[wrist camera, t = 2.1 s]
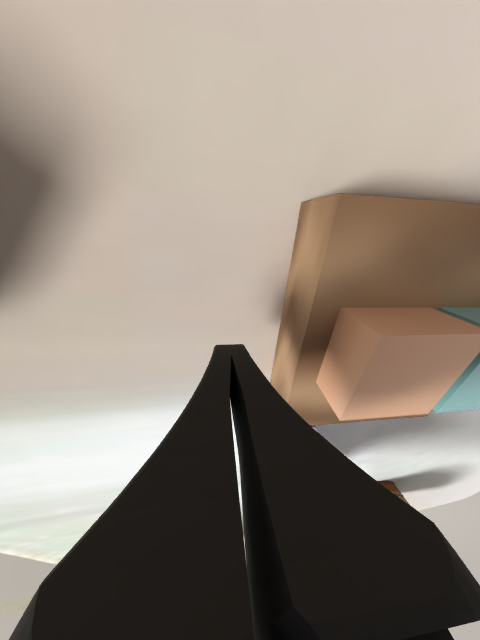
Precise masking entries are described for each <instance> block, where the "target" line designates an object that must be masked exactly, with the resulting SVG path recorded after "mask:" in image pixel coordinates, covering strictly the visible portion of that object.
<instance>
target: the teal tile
mask: <svg viewBox="0 0 480 640" xmlns="http://www.w3.org/2000/svg"><path fill="white" fill-rule="evenodd" d="M438 311H441V312H443V313H446V314H448V315H451V316H453V317H456V318H458V319H461V320H463V321H466V322H468V323H471V324H473V325H476V326H478V327H480V307H439V309H438ZM432 410H433V411H434V412H436V413H445V412H457V411H470V410H480V352H479V354H478V355H477V356H476V357H475V358H474V360H473V361H472V362H471V363H470V364H469V365H468V367H467V368H466V369H465V370H464V371H463V373H462V374H461V375H460V376H459V377H458V379H457V380H456V381H455V382H454V383H453V385H452V386H451V387H450V388H449V389H448V391H447V392H446V393H445V394H444V395H443V397H442V398H441V399H440V400H439V401H438V403H437V404H436V405H435V406H434V407H433V409H432Z"/></svg>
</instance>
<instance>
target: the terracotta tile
mask: <svg viewBox="0 0 480 640" xmlns="http://www.w3.org/2000/svg"><path fill="white" fill-rule="evenodd" d="M479 352H480V327H478V326H476V325H473V324H471V323H468V322H466V321H463V320H461V319H458V318H456V317H453V316H451V315H448V314H446V313H443V312H441V311H438V310H436V309H433V308H431V307H405V308H341V309H340V312H339V315H338V318H337V321H336V324H335V327H334V330H333V333H332V336H331V339H330V342H329V345H328V348H327V350H326V353H325V356H324V359H323V362H322V365H321V368H320V371H319V374H318V377H317V380H316V383H317V384H318V386H319V388H320V389H321V391H322V393H323V394H324V396H325V398H326V399H327V401H328V402H329V404H330V406H331V407H332V409H333V411H334V412H335V414H336V416H337V417H338V419H339V420H340V421H344V420H357V419H370V418H382V417H395V416H407V415H420V414H428V413H429V412H430V411H431V410H432V409H433V407H434V406H435V405H436V404H437V403H438V401H439V400H440V399H441V398H442V397H443V395H444V394H445V393H446V392H447V391H448V389H449V388H450V387H451V386H452V385H453V383H454V382H455V381H456V380H457V379H458V377H459V376H460V375H461V374H462V373H463V371H464V370H465V369H466V368H467V367H468V365H469V364H470V363H471V362H472V361H473V360H474V358H475V357H476V356H477V355H478V354H479Z"/></svg>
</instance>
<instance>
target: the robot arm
mask: <svg viewBox="0 0 480 640" xmlns="http://www.w3.org/2000/svg"><path fill="white" fill-rule="evenodd" d="M230 401H231V407H232V414H233V420H234V427H235V433H236V440H237V446H238V455H239V464H240V479H241V491H242V506H243V520H244V535H245V549H244V540H243V530H242V521H241V512H240V502H239V492H238V482H237V472H236V462H235V452H234V441H233V431H232V419H231V408H230ZM245 550H246V558H245ZM246 565H247V568H246ZM479 620H480V585H479V584H478V582H477V581H476V580H475V578H474V577H473V575H472V574H471V573H470V571H469V570H468V568H467V567H466V566H465V564H464V563H463V561H462V560H461V559H460V557H459V556H458V554H457V553H456V551H455V550H454V549H453V548H452V546H451V545H450V544H449V542H448V541H447V540H446V538H445V537H444V536H443V534H442V533H441V532H440V530H439V529H438V528H437V527H436V525H435V524H434V523H433V522H432V521H431V520H429V519H428V518H426V517H425V516H424V515H422V514H421V513H420V512H418V511H417V510H416V509H414V508H413V507H411V506H410V505H409V504H407V503H406V502H405V501H403V500H402V499H401V498H399V497H398V496H396V495H395V494H394V493H392V492H391V491H390V490H388V489H387V488H385V487H384V486H383V485H381V484H380V483H379V482H377V481H376V480H375V479H373V478H372V477H371V476H369V475H368V474H367V473H366V472H364V471H363V470H362V469H361V468H359V467H358V466H357V465H356V464H354V463H353V462H352V461H351V460H349V459H348V458H347V457H346V456H344V455H343V454H342V453H341V452H340V451H339V450H338V449H336V448H335V447H334V446H333V445H332V444H331V443H329V442H328V441H327V440H326V439H325V438H324V437H323V436H321V435H320V434H319V433H318V431H317V429H316V428H315V427H311V426H310V425H309V424H308V423H307V422H306V421H305V420H304V419H303V418H302V417H301V416H300V415H299V414H298V413H297V412H296V411H295V410H294V409H293V408H292V407H291V406H290V405H289V404H288V403H287V402H286V401H285V400H284V399H283V397H282V396H281V395H280V394H279V393H278V392H277V391H276V389H275V388H274V387H273V386H272V385H271V384H270V382H269V381H268V380H267V379H266V377H265V376H264V375H263V373H262V372H261V371H260V369H259V368H258V367H257V365H256V364H255V362H254V361H253V359H252V358H251V356H250V355H249V353H248V351H247V350H246V348H245V346H244V345H243V344H236V345H216V346H215V347H214V351H213V354H212V357H211V360H210V362H209V365H208V367H207V369H206V371H205V373H204V376H203V378H202V380H201V382H200V383H199V385H198V387H197V389H196V391H195V392H194V394H193V396H192V398H191V399H190V401H189V403H188V404H187V406H186V407H185V409H184V411H183V412H182V414H181V415H180V417H179V418H178V420H177V421H176V423H175V424H174V425H173V427H172V428H171V430H170V431H169V432H168V434H167V435H166V436H165V438H164V439H163V441H162V442H161V443H160V445H159V446H158V447H157V449H156V450H155V451H154V453H153V454H152V455H151V456H150V458H149V459H148V460H147V461H146V463H145V464H144V465H143V466H142V468H141V469H140V470H139V471H138V472H137V474H136V475H135V476H134V477H133V479H132V480H131V481H130V482H129V483H128V485H127V486H126V487H125V488H124V490H123V491H122V492H121V493H120V494H119V496H118V497H117V498H116V499H115V500H114V501H113V503H112V504H111V505H110V506H109V507H108V508H107V510H106V511H105V512H104V513H103V514H102V515H101V516H100V517H99V519H98V520H97V521H96V522H95V523H94V524H93V525H92V526H91V527H90V529H89V530H88V531H87V532H86V533H85V534H84V535H83V536H82V538H81V539H80V540H79V541H78V542H77V543H76V544H75V545H74V547H73V548H72V549H71V550H70V551H69V552H68V553H67V554H66V555H65V557H64V558H63V559H62V560H61V561H60V562H59V563H58V564H57V566H56V567H55V568H54V569H53V570H52V571H51V572H50V574H49V575H48V576H47V577H46V578H45V579H44V581H43V582H42V583H41V585H40V586H39V588H38V590H37V592H36V593H35V595H34V597H33V598H32V600H31V602H30V603H29V605H28V607H27V609H26V610H25V612H24V614H23V616H22V617H21V619H20V621H19V623H18V624H17V626H16V628H15V630H14V632H13V633H12V635H11V637H10V639H9V640H454V639H453V637H452V635H451V634H450V632H449V630H448V628H451V627H455V626H459V625H463V624H467V623H471V622H475V621H479Z"/></svg>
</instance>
